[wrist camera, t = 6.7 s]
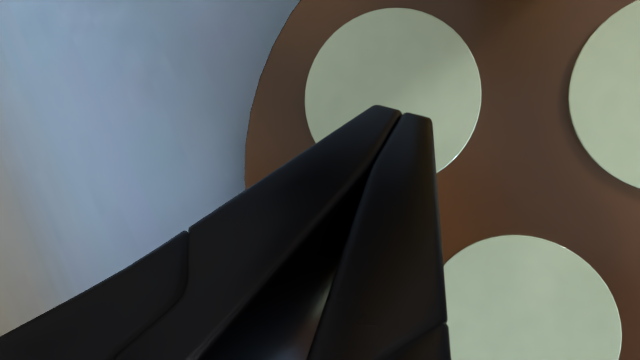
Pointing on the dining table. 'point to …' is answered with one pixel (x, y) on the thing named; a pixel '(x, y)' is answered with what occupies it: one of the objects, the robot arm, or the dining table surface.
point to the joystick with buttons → (491, 152)
